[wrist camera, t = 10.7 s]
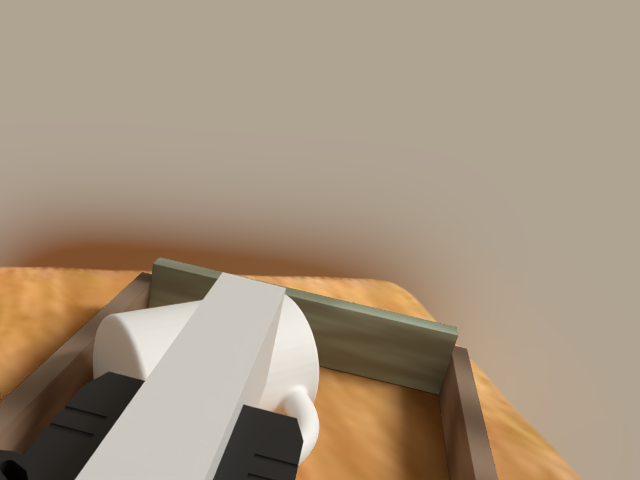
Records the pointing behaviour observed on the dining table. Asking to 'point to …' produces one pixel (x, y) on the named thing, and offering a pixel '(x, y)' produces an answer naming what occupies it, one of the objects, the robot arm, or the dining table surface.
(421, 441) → the dining table surface
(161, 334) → the mug
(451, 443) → the wooden tray
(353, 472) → the dining table surface
